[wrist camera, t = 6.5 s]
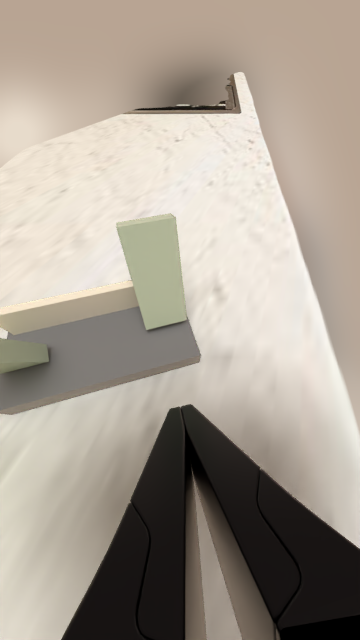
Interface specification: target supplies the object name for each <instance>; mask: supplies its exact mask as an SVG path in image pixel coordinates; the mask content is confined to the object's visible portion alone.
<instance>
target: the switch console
mask: <svg viewBox="0 0 360 640" xmlns="http://www.w3.org/2000/svg"><path fill="white" fill-rule="evenodd" d="M186 316H187V315H186ZM0 327H1V328H3V329H4V330H6V331H8V336H7V339H9V340H17V341H25V342H33V343H41V344H47V350H48V357H49V362H46V363H42V364H38V365H34V366H30V367H26V368H22V369H18V370H14V371H10V372H6V373H2V374H0V413H1V414H9V415H12V414H16V413H19V412H23V411H27V410H30V409H34V408H37V407H41V406H44V405H48V404H52V403H55V402H59V401H62V400H66V399H69V398H73V397H77V396H80V395H84V394H87V393H91V392H94V391H98V390H102V389H105V388H109V387H112V386H116V385H119V384H123V383H126V382H130V381H134V380H137V379H141V378H144V377H148V376H151V375H155V374H159V373H162V372H166V371H169V370H173V369H176V368H180V367H184V366H187V365H191V364H194V363H198V362H199V361H200V356H201V354H200V352H199V349H198V346H197V343H196V340H195V337H194V335H193V332H192V329H191V326H190V323H189V320H188V318H187V320H185V321H181V322H177V323H173V324H169V325H165V326H161V327H157V328H153V329H149V330H146V328H145V324H144V321H143V317H142V314H141V310H140V307H139V303H138V300H137V297H136V293H135V290H134V286H133V283H132V280H130V281H125V282H120V283H116V284H111V285H106V286H102V287H97V288H92V289H87V290H83V291H78V292H73V293H68V294H64V295H59V296H54V297H50V298H45V299H40V300H35V301H31V302H26V303H21V304H17V305H12V306H7V307H2V308H0Z"/></svg>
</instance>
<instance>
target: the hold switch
mask: <svg viewBox="0 0 360 640" xmlns="http://www.w3.org/2000/svg"><path fill="white" fill-rule="evenodd" d="M46 362H49V357H48V350H47V344H41V343H33V342H25V341H17V340H9V339H2V338H0V374H2V373H6V372H10V371H14V370H18V369H22V368H26V367H30V366H34V365H38V364H42V363H46Z"/></svg>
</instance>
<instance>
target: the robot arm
mask: <svg viewBox="0 0 360 640" xmlns="http://www.w3.org/2000/svg"><path fill="white" fill-rule="evenodd" d="M192 471H193V473H192ZM193 476H194V480H195V483H196V487H197V490H198V494H199V497H200V500H201V503H202V507H203V510H204V513H205V517H206V520H207V523H208V527H209V530H210V533H211V537H212V540H213V543H214V547H215V550H216V553H217V557H218V560H219V563H220V567H221V570H222V573H223V576H224V580H225V583H226V586H227V590H228V593H229V596H230V600H231V603H232V606H233V610H234V613H235V616H236V620H237V623H238V626H239V630H240V633H241V636H242V640H360V549H359V548H358V547H356V546H355V545H354V544H353V543H351V542H350V541H349V540H347V539H346V538H345V537H344V536H342V535H341V534H340V533H338V532H337V531H336V530H334V529H333V528H332V527H331V526H329V525H328V524H327V523H325V522H324V521H323V520H321V519H320V518H319V517H318V516H316V515H315V514H314V513H313V512H311V511H310V510H309V509H308V508H306V507H305V506H304V505H303V504H301V503H300V502H299V501H298V500H296V499H295V498H294V497H293V496H292V495H290V494H289V493H288V492H287V491H286V490H285V489H284V488H282V487H281V486H280V485H279V484H278V483H277V482H276V481H274V480H273V479H272V478H271V477H270V476H269V475H268V474H267V473H266V472H265V471H264V470H262V469H261V470H260V467H259V466H258V465H257V464H256V463H255V462H254V461H253V460H252V459H250V458H249V457H248V456H247V455H246V454H245V453H244V452H243V451H242V450H241V449H240V448H239V447H237V446H236V445H235V444H234V443H233V442H232V441H231V440H230V439H229V438H228V437H227V436H225V435H224V434H223V433H222V432H221V431H220V430H219V429H218V428H217V427H216V426H215V425H214V424H212V423H211V422H210V421H209V420H208V419H207V418H206V417H205V416H204V415H203V414H202V413H200V412H199V411H198V410H197V409H196V408H195V407H194V406H193V405H191V404H190V405H185V406H182V407H181V408H180V407H176V408H171V409H170V410H169V412H168V414H167V416H166V419H165V421H164V423H163V425H162V428H161V430H160V432H159V435H158V437H157V439H156V442H155V444H154V446H153V449H152V451H151V453H150V456H149V458H148V460H147V463H146V465H145V467H144V470H143V472H142V474H141V477H140V479H139V481H138V483H137V486H136V488H135V490H134V493H133V495H132V497H131V500H130V502H131V503H129V504H128V506H127V509H126V511H125V513H124V516H123V518H122V520H121V523H120V525H119V527H118V529H117V531H116V533H115V536H114V538H113V540H112V542H111V544H110V546H109V549H108V551H107V553H106V555H105V557H104V558H103V560H102V562H101V564H100V566H99V568H98V570H97V572H96V574H95V576H94V578H93V580H92V582H91V584H90V586H89V588H88V590H87V592H86V593H85V595H84V597H83V599H82V601H81V603H80V605H79V607H78V609H77V610H76V612H75V614H74V616H73V618H72V620H71V622H70V624H69V626H68V627H67V629H66V631H65V633H64V635H63V637H62V639H61V640H207V638H206V626H205V614H204V601H203V589H202V577H201V565H200V553H199V541H198V528H197V516H196V504H195V492H194V481H193Z"/></svg>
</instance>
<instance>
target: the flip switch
mask: <svg viewBox="0 0 360 640" xmlns="http://www.w3.org/2000/svg"><path fill="white" fill-rule="evenodd" d="M116 228H117V231H118V235H119V238H120V242H121V245H122V248H123V252H124V255H125V259H126V262H127V266H128V269H129V273H130V276H131V279H132V283H133V286H134V290H135V293H136V297H137V300H138V303H139V307H140V310H141V314H142V317H143V321H144V324H145V328H146V330H149V329H153V328H157V327H161V326H165V325H169V324H173V323H177V322H181V321H185V320H187V316H186V307H185V298H184V289H183V280H182V271H181V262H180V252H179V243H178V234H177V225H176V217H175V216H173V215H172V214H171V213H170V214H165V215H159V216H153V217H147V218H141V219H135V220H130V221H124V222H118V223H117V224H116Z"/></svg>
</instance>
